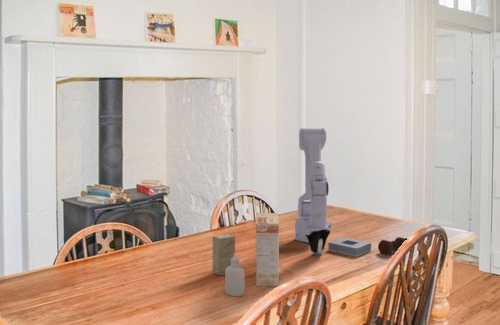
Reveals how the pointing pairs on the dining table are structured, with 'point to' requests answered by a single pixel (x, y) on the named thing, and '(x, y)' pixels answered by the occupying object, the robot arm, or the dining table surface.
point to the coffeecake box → (267, 249)
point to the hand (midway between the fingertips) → (317, 250)
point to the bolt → (390, 245)
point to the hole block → (349, 246)
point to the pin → (319, 248)
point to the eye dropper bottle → (234, 278)
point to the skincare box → (222, 252)
